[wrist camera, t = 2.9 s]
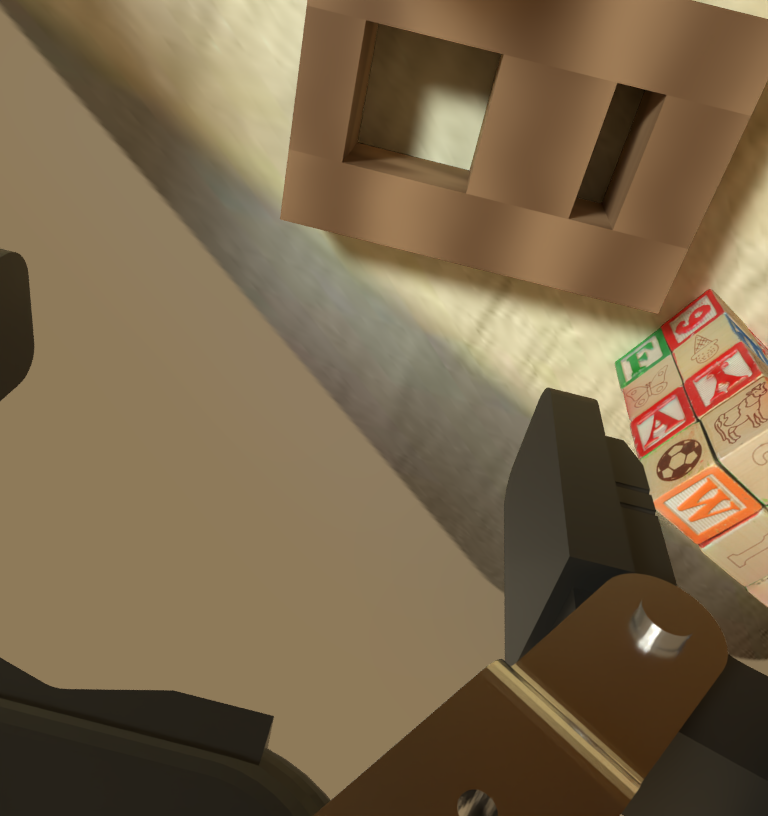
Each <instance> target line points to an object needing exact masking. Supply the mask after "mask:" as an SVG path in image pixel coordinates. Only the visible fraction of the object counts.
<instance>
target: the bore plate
mask: <svg viewBox="0 0 768 816" xmlns="http://www.w3.org/2000/svg"><path fill="white" fill-rule="evenodd" d="M379 24H383V25H387V26H391V27H395V28H399V29H403V30H408V31H412V32H416V33H420V34H424V35H428V36H432V37H436V38H440V39H444V40H448V41H452V42H456V43H460V44H464V45H468V46H472V47H476V48H480V49H484V50H488V51H492V52H496V53H500V54H501V56H500V60H499V63H498V67H497V71H496V74H495V78H494V82H493V86H492V89H491V93H490V97H489V100H488V104H487V108H486V112H485V115H484V119H483V123H482V126H481V130H480V134H479V138H478V141H477V145H476V149H475V152H474V156H473V160H472V164H471V167H470V171H469V170H465V169H461V168H457V167H453V166H449V165H445V164H441V163H437V162H433V161H429V160H425V159H421V158H417V157H413V156H409V155H405V154H401V153H397V152H393V151H389V150H385V149H381V148H377V147H373V146H369V145H365V144H361V143H358V138H359V132H360V126H361V121H362V115H363V109H364V104H365V98H366V92H367V87H368V81H369V76H370V70H371V64H372V59H373V53H374V47H375V42H376V36H377V30H378V25H379ZM767 81H768V19H765V18H761V17H757V16H753V15H749V14H745V13H741V12H737V11H733V10H729V9H725V8H720V7H716V6H712V5H708V4H704V3H700V2H696V1H692V0H308V1H307V9H306V17H305V25H304V33H303V41H302V49H301V57H300V65H299V73H298V81H297V89H296V97H295V105H294V113H293V121H292V129H291V137H290V145H289V153H288V161H287V169H286V177H285V185H284V193H283V201H282V209H281V217H280V219H281V220H285V221H289V222H293V223H297V224H301V225H305V226H309V227H313V228H317V229H321V230H325V231H329V232H333V233H337V234H341V235H345V236H349V237H353V238H357V239H361V240H365V241H369V242H373V243H377V244H381V245H385V246H389V247H393V248H397V249H401V250H405V251H409V252H413V253H417V254H421V255H425V256H429V257H433V258H437V259H441V260H445V261H449V262H453V263H456V264H460V265H464V266H468V267H472V268H476V269H480V270H484V271H488V272H492V273H496V274H500V275H504V276H508V277H512V278H516V279H520V280H524V281H528V282H532V283H536V284H540V285H544V286H548V287H552V288H556V289H560V290H564V291H568V292H572V293H576V294H580V295H584V296H588V297H592V298H596V299H600V300H604V301H608V302H612V303H616V304H620V305H624V306H628V307H632V308H636V309H640V310H644V311H648V312H652V313H656V314H658V313H659V311H660V309H661V307H662V304H663V302H664V300H665V298H666V296H667V294H668V292H669V290H670V287H671V285H672V283H673V281H674V279H675V277H676V275H677V273H678V270H679V268H680V266H681V264H682V262H683V260H684V258H685V256H686V253H687V251H688V249H689V247H690V245H691V243H692V241H693V238H694V236H695V234H696V232H697V230H698V228H699V226H700V224H701V221H702V219H703V217H704V215H705V213H706V211H707V209H708V207H709V204H710V202H711V200H712V198H713V196H714V194H715V192H716V190H717V187H718V185H719V183H720V181H721V179H722V177H723V175H724V172H725V170H726V168H727V166H728V164H729V162H730V160H731V158H732V155H733V153H734V151H735V149H736V147H737V145H738V143H739V141H740V138H741V136H742V134H743V132H744V130H745V128H746V126H747V124H748V121H749V119H750V117H751V115H752V113H753V111H754V109H755V106H756V104H757V102H758V100H759V98H760V96H761V94H762V92H763V89H764V87H765V85H766V83H767ZM617 83H621V84H625V85H629V86H633V87H637V88H641V89H645V92H644V95H643V98H642V100H641V103H640V105H639V108H638V111H637V113H636V116H635V118H634V121H633V124H632V126H631V129H630V132H629V134H628V137H627V139H626V142H625V145H624V147H623V150H622V152H621V155H620V158H619V160H618V163H617V165H616V168H615V171H614V173H613V176H612V179H611V181H610V184H609V186H608V189H607V192H606V194H605V197H604V199H603V202H602V204H601V203H597V202H593V201H589V200H585V199H581V198H577V197H576V196H577V194H578V191H579V188H580V185H581V183H582V180H583V177H584V174H585V171H586V169H587V166H588V163H589V160H590V158H591V155H592V152H593V149H594V146H595V144H596V141H597V138H598V135H599V133H600V130H601V127H602V124H603V121H604V119H605V116H606V113H607V110H608V108H609V105H610V102H611V99H612V97H613V94H614V91H615V88H616V85H617Z"/></svg>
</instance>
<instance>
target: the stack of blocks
mask: <svg viewBox="0 0 768 816" xmlns="http://www.w3.org/2000/svg"><path fill="white" fill-rule="evenodd" d="M615 367H616V371H617V376H618V381H619V384H620V389H621V391H622V392H623V394H624V398H625V402H626V407H627V412H628V415H629V418H630V420H631V423H630V429H631V433H632V436H633V439H634V446H635V448H636V452H637V456H638V459H639V460H640V462H641V463H642V464H643V466H644V470H645V473H646V477H647V480H648V484H649V488H650V492H649V495H652V498H653V502H654V505H655V509H656V510H657V511H658V512H659V513H661V514H662V515H663V516H664V517H665V518H666V519H668V520H669V521H670V522H671V523H672V524H673V525H675V526H676V527H677V528H678V529H679V530H680V531H681V532H683V533H684V534H685V535H686V536H687V537H688V538H690V539H691V540H692V541H693V542H694V543H696V544H698V545H699V548H700V550H701V551H702V552H703V553H704V554H705V555H706V556H708V557H709V558H710V559H711V560H712V561H713V562H715V563H716V564H717V565H718V566H720V567H721V568H722V569H723V570H724V571H726V572H727V573H728V574H729V575H730V576H732V577H733V578H734V579H735V580H736V581H738V582H739V583H740V584H741V585H743V586H745V588H746V590H747V591H748V592H749V593H750V594H752V595H753V596H754V597H755V598H756V599H757V600H759V601H760V602H761V603H762V604H764V605H765V606H766V607H767V608H768V349H767V348H766V347H765V346H764V345H763V344H762V342H761V341H760V340H759V339H758V338H757V337H756V336H755V335H754V334H753V333H752V332H751V331H750V330H749V329H748V328H747V326H746V325H745V324H744V323H743V321H742V320H741V319H740V318H739V317H738V316H737V315H736V314H735V313H734V312H733V311H732V310H731V309H730V308H729V307H728V306H727V305H726V303H725V302H724V301H723V300H722V299H721V298H720V297H719V296H718V295H717V294H716V293H715V292H714V291H713V290H711V289H709V290H707V291H706V292H705V293H703V294H702V295H701V296H700V297H698V298H697V299H696V300H694V301H693V302H692V303H690V304H689V305H688V306H687V307H685V308H684V309H683V310H681V311H680V312H679V313H678V314H676V315H675V316H674V317H672V318H671V319H670V320H669V321H667V322H666V323H665V324H663V325H662V326H661V328H659V329H658V330H657V331H656V332H654V333H653V334H652V335H650V336H649V337H648V338H647V339H645V340H644V341H643V342H641V343H640V344H639V345H637V346H636V347H635V348H633V349H632V350H631V351H629V352H628V353H627V354H626V355H624V356H623V357H622V358H620V359H619V360H617V361H616V362H615Z"/></svg>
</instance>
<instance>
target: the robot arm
mask: <svg viewBox="0 0 768 816" xmlns="http://www.w3.org/2000/svg"><path fill="white" fill-rule="evenodd" d="M33 355H34V336H33V324H32V313H31V300H30V288H29V276H28V268H27V265H26V262H25V260H24V259H23V257H21V255H20V254H18V253H16V252H12V251H7V250H4V249H0V401H1V400H2V399H3V398H4V397H5V396H6V395H8V394H9V393H10V392H11V391H12V390H13V389H14V388H16V387H17V386H18V384H20V383H21V382H22V381H23V379H24V378H25V376H26V375H27V373H28V371H29V369H30V366H31V363H32V360H33ZM649 492H650V488H649V484H648V480H647V477H646V473H645V470H644V466H643V464H642V463H641V462H640V461H639V459H638V458H637V457H636V455H635V454H634V453H633V452H632V450H631V449H630V448H629V447H628V445H627V444H626V443H625V442H624V440H620V439H616V438H612V437H608V436H605V432H604V427H603V423H602V418H601V414H600V409H599V405H598V402H597V400H595V399H592V398H588V397H584V396H580V395H576V394H572V393H568V392H564V391H560V390H556V389H552V388H546V389H545V390H544V392H543V393H542V395H541V397H540V399H539V401H538V404H537V406H536V409H535V412H534V414H533V417H532V419H531V422H530V424H529V427H528V429H527V432H526V434H525V437H524V439H523V442H522V444H521V447H520V450H519V452H518V455H517V457H516V460H515V462H514V465H513V467H512V470H511V473H510V477H509V480H508V484H507V489H506V495H505V502H504V575H505V661H504V660H502V659H499V660H496V661H494V662H493V663H491V664H490V665H488V666H486V667H485V668H484V669H483V670H482V671H480V672H479V673H478V674H477V675H476V676H475V677H473V678H472V679H471V680H470V681H469V682H467V683H466V684H465V685H464V686H463V687H462V688H460V689H459V690H458V691H457V692H456V693H455V694H454V695H452V696H451V697H450V698H449V699H448V700H447V701H445V702H444V703H443V704H442V705H441V706H440V707H438V708H437V709H436V710H435V711H434V712H433V713H431V714H430V715H429V716H428V717H427V718H426V719H425V720H423V721H422V722H421V723H420V724H419V725H418V726H416V728H414V729H413V730H412V731H411V732H409V733H408V734H407V735H406V736H405V737H404V738H402V739H401V740H400V741H399V742H398V743H397V744H396V745H394V746H393V747H392V748H391V749H390V750H389V751H387V752H386V753H385V754H384V755H383V756H382V757H380V758H379V759H378V760H377V761H376V762H375V763H374V764H372V765H371V766H370V767H369V768H368V769H367V770H365V771H364V772H363V773H362V774H361V775H360V776H358V777H357V778H356V779H355V780H354V781H353V782H351V783H350V784H349V785H348V786H347V787H346V788H345V789H343V790H342V791H341V792H340V793H339V794H338V795H336V796H335V797H334V798H333V799H332V800H330V799H329V798H328V796H327V795H326V794H325V793H324V792H323V791H322V790H321V789H320V788H319V787H318V786H317V785H316V784H315V783H314V782H313V781H312V780H311V779H310V778H309V777H308V776H307V775H306V774H304V773H303V772H302V771H301V770H299V769H298V768H297V767H295V766H294V765H293V764H291V763H290V762H289V761H287V760H286V759H284V758H283V757H281V756H279V755H277V754H276V753H274V752H272V751H271V750H269V749H267V748H268V743H269V738H270V733H271V728H272V723H273V718H274V716H271V715H267V714H263V713H259V712H255V711H252V710H248V709H244V708H239V707H236V706H232V705H228V704H224V703H220V702H216V701H212V700H208V699H204V698H200V697H196V696H193V695H189V694H185V693H181V692H177V691H164V690H89V689H88V690H87V689H86V690H85V689H59V688H55V687H51V686H49V685H47V684H45V683H43V682H41V681H40V680H38V679H36V678H35V677H33V676H31V675H29V674H27V673H26V672H24V671H22V670H21V669H19V668H17V667H16V666H14V665H12V664H10V663H9V662H7V661H5V660H3V659H2V658H0V816H620V815H621V814H622V815H624V816H768V676H766V675H764V674H762V673H760V672H758V671H756V670H754V669H753V668H751V667H749V666H747V665H745V664H743V663H741V662H740V661H738V660H736V659H735V658H733V657H732V656H730V655H729V654H728V646H727V642H726V639H725V636H724V634H723V632H722V630H721V628H720V626H719V625H718V623H717V622H716V620H715V619H714V617H713V616H712V615H711V614H710V613H709V611H708V610H707V609H706V608H705V607H704V606H703V605H702V604H701V603H700V602H699V601H697V600H696V599H695V598H693V597H692V596H691V595H690V594H688V593H687V592H685V591H684V590H682V589H681V588H679V587H677V584H676V580H675V577H674V573H673V570H672V566H671V562H670V559H669V555H668V552H667V548H666V545H665V541H664V537H663V534H662V530H661V527H660V523H659V520H658V516H655V512H656V509H655V505H654V502H653V498H652V495H649Z"/></svg>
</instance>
